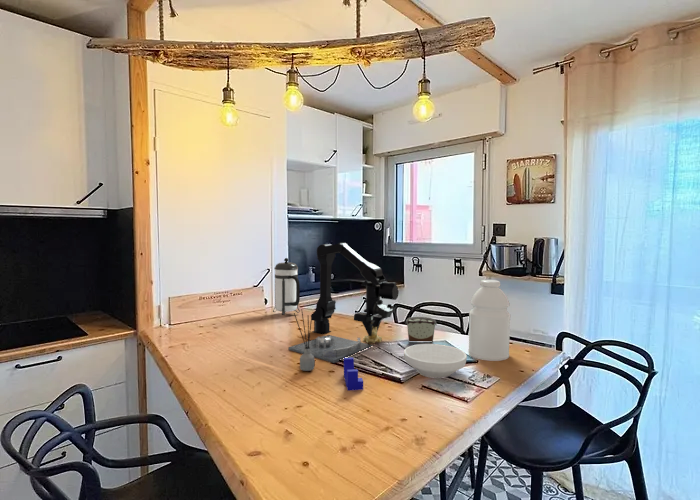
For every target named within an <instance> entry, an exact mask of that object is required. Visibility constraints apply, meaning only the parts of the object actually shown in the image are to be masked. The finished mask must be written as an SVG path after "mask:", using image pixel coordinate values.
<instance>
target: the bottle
mask: <svg viewBox="0 0 700 500" xmlns="http://www.w3.org/2000/svg"><path fill="white" fill-rule="evenodd" d="M500 287H501V281H499V280H497V279H482V280H480V287H479V288H478V289H477V290H476V291H475V292H474V294H473V295H472V297H471V300H470V304H471V305H472V308H471V310H469V313H468V315H469V317H468V318H469V319H468V320H469V323H468V328H469V329H468V351H467V352H468V355H469V356H470V357H472V358H474V359H478V360H483V361H488V362H489V361H491V362H499V361H505V360H507V359H509V358H510V334H511V333H510V332H511V328H510V327H511V314H510V313H509V312H508V308H509V307H510V302H509V301H510V300H509V298H508V297H507V296H508V295H506V294H505V292H504V291H503V290H502V289H501V288H500Z"/></svg>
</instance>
